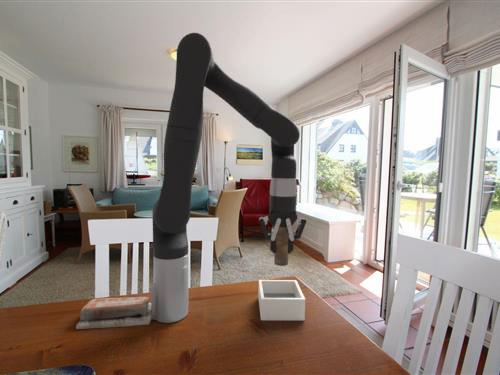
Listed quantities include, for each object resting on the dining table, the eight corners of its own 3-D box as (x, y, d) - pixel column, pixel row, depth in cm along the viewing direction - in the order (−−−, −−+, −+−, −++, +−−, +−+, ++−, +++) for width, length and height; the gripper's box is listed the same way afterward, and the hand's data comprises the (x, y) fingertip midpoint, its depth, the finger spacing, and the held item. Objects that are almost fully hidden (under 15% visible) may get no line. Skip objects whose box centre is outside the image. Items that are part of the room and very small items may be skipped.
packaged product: (74, 313, 65) (91, 294, 75) (74, 331, 65) (92, 310, 75) (149, 308, 68) (157, 290, 78) (150, 326, 68) (157, 306, 78)
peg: (275, 265, 74) (276, 227, 73) (273, 260, 78) (274, 224, 77) (289, 265, 74) (290, 227, 73) (286, 260, 78) (287, 224, 77)
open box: (260, 320, 71) (261, 299, 70) (258, 298, 83) (258, 279, 82) (304, 320, 71) (305, 299, 71) (295, 298, 83) (296, 280, 83)
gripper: (259, 195, 70) (257, 256, 72) (311, 195, 71) (308, 257, 72) (257, 192, 78) (256, 248, 79) (304, 192, 78) (302, 248, 80)
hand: (281, 252), depth 76 cm, fingers closed on peg, 4 cm apart
